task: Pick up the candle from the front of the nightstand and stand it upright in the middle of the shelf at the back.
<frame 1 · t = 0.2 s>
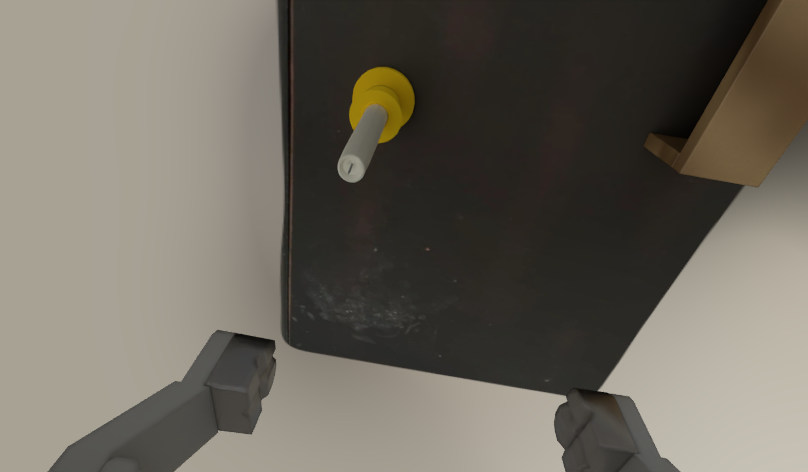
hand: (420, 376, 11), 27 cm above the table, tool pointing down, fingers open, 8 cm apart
shelf: (733, 50, 29), on the table
candle: (384, 99, 33), on the table
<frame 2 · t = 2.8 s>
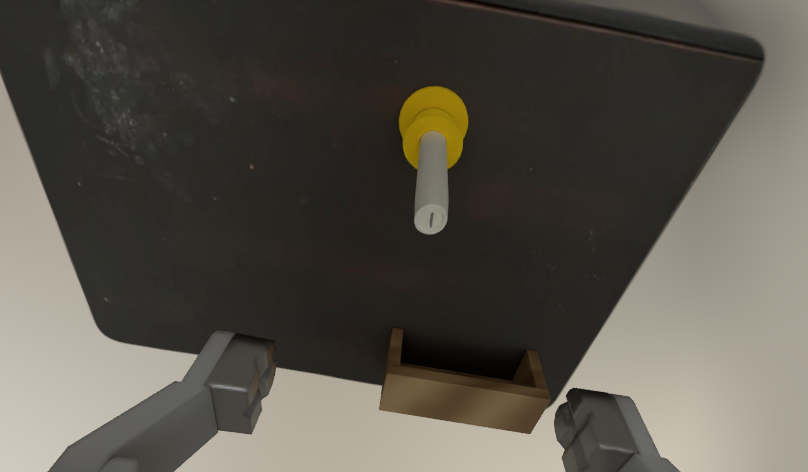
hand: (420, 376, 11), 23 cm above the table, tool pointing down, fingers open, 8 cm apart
shelf: (458, 357, 44), on the table
candle: (433, 120, 30), on the table
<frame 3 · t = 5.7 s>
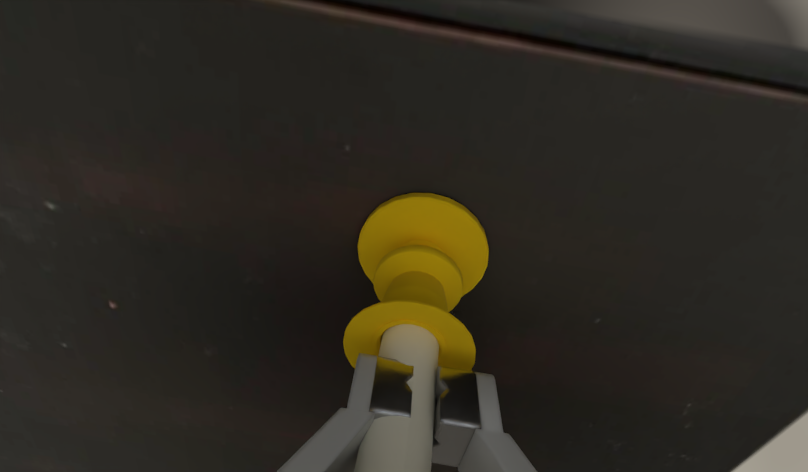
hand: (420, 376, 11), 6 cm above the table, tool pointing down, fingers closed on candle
candle: (423, 246, 16), on the table, touching gripper
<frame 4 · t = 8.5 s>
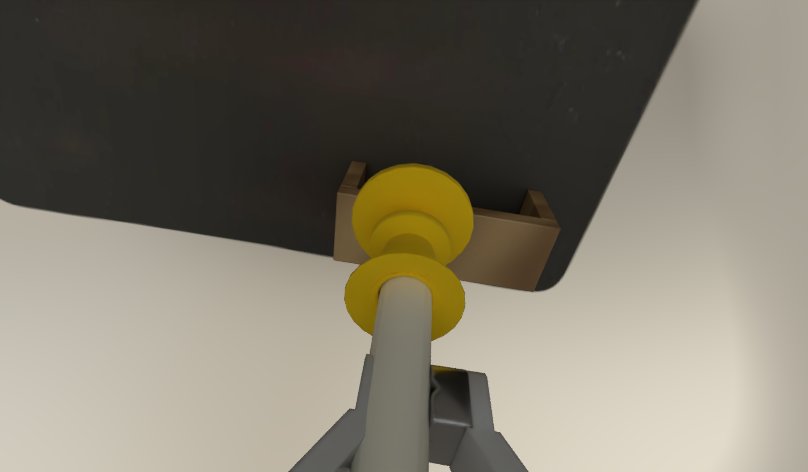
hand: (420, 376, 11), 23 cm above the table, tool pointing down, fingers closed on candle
shelf: (440, 207, 34), on the table
candle: (412, 216, 17), point 15 cm above the table, touching gripper
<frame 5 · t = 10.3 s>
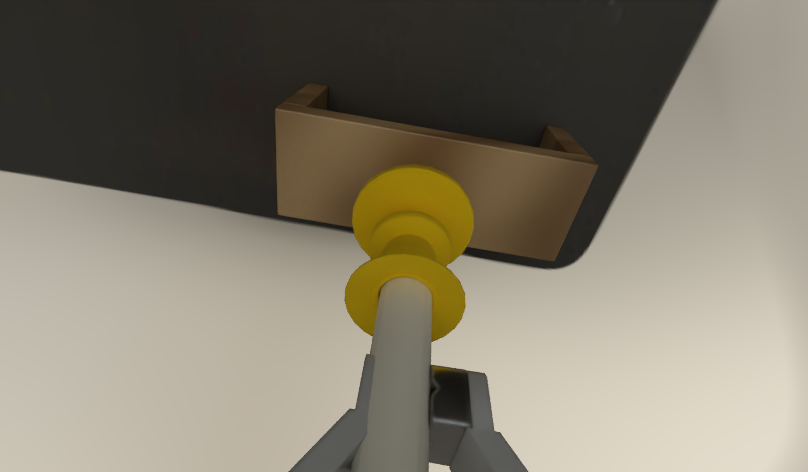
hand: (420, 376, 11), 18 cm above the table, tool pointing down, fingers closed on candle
shelf: (428, 151, 25), on the table
candle: (413, 217, 17), point 10 cm above the table, touching gripper
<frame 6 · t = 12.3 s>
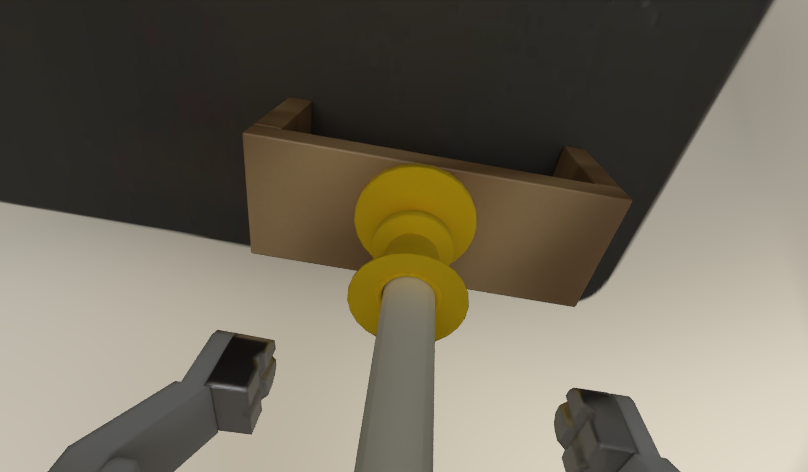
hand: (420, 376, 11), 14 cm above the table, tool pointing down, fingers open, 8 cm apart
shelf: (428, 174, 22), on the table
candle: (415, 216, 17), point 6 cm above the table, touching shelf
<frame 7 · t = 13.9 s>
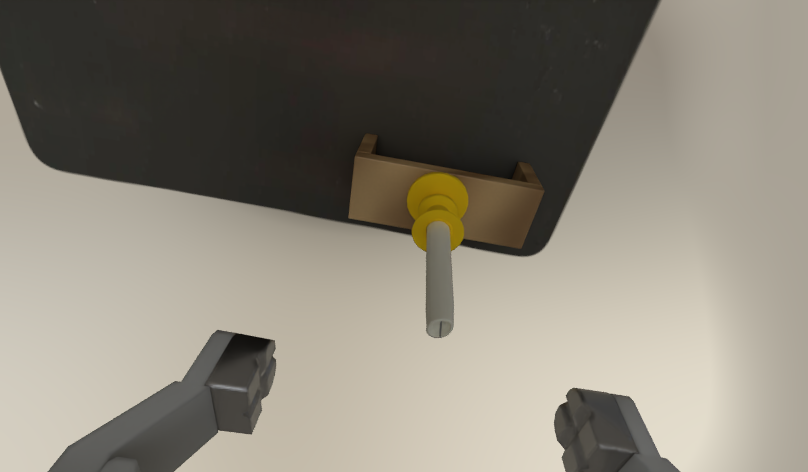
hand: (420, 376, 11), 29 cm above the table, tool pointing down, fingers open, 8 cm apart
shelf: (441, 176, 38), on the table
candle: (437, 198, 33), point 6 cm above the table, touching shelf
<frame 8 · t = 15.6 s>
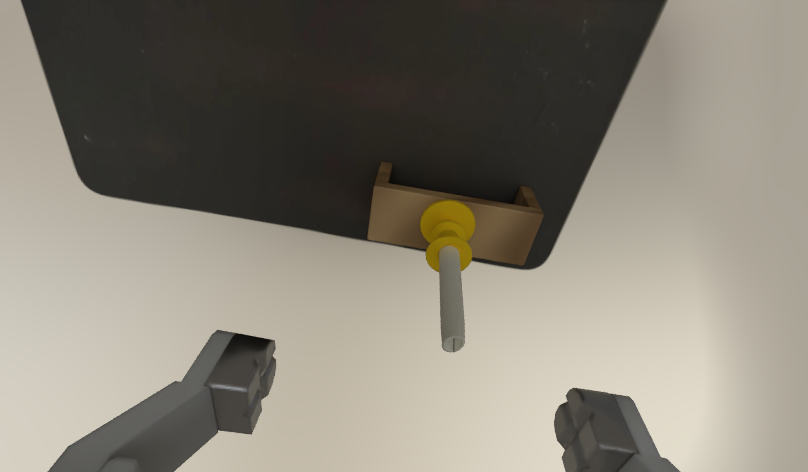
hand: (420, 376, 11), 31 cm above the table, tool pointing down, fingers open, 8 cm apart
shelf: (450, 199, 42), on the table
candle: (447, 222, 37), point 6 cm above the table, touching shelf
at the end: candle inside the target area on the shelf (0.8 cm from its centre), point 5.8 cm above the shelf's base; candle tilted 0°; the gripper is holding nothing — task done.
